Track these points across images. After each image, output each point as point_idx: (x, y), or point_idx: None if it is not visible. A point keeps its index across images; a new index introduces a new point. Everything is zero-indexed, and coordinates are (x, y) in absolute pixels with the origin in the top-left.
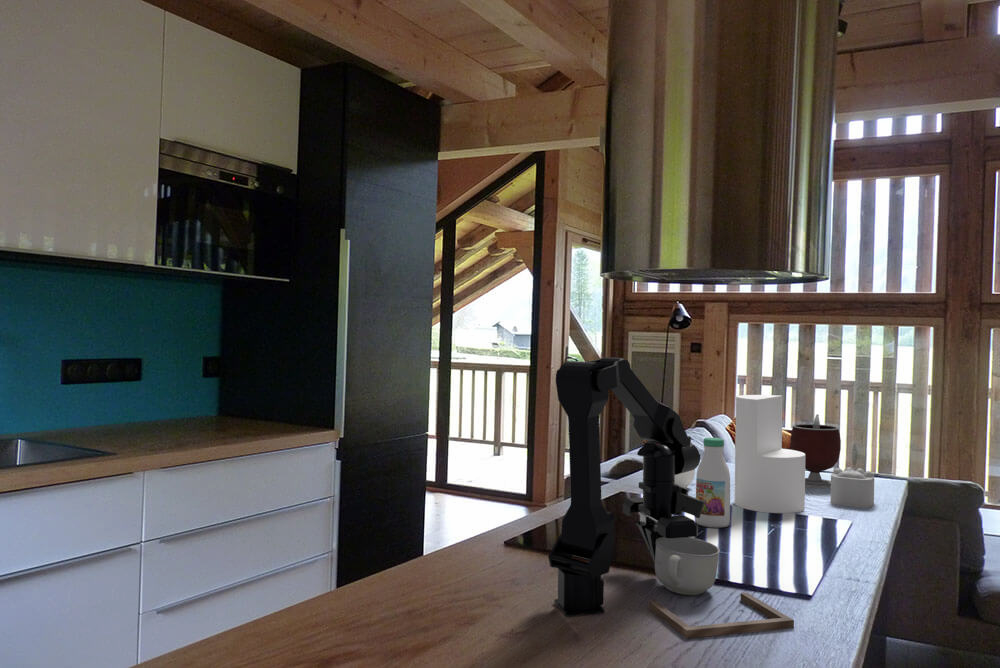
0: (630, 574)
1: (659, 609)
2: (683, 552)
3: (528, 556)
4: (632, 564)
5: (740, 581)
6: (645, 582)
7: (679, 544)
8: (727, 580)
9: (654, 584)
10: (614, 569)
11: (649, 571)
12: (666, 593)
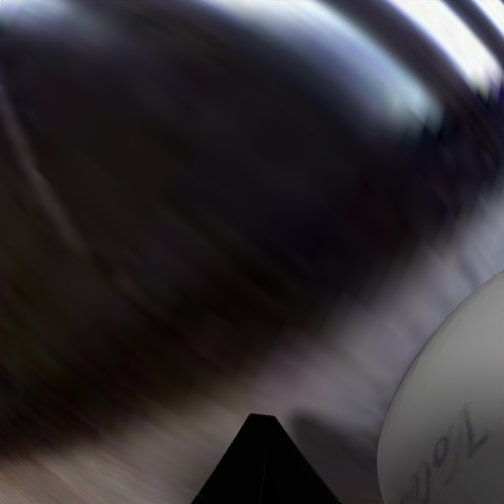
0: (198, 457)
1: None
2: (492, 409)
3: (19, 493)
4: (66, 369)
5: (487, 56)
6: (317, 460)
7: (500, 481)
8: (470, 88)
9: (356, 443)
10: (122, 459)
11: (182, 376)
12: None
